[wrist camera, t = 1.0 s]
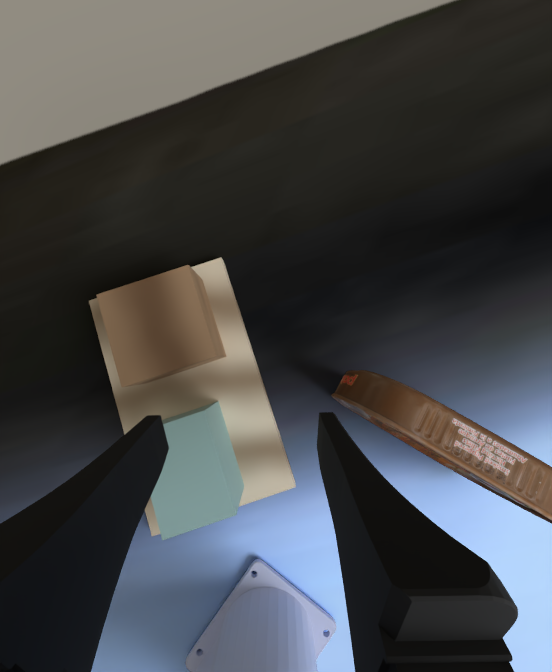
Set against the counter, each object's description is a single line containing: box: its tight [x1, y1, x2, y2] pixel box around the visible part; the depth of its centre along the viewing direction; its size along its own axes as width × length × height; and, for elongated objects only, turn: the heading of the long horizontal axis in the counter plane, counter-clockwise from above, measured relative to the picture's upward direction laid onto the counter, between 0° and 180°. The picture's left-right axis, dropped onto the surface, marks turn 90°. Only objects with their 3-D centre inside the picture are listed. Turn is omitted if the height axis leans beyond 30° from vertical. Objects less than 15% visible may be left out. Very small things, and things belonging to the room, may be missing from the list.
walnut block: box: [97, 265, 227, 387], centre depth 20 cm, size 7×7×4 cm
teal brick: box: [151, 401, 244, 541], centre depth 19 cm, size 5×7×4 cm
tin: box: [332, 370, 552, 523], centre depth 18 cm, size 15×3×8 cm, turn 59°
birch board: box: [89, 258, 296, 536], centre depth 22 cm, size 20×12×1 cm, turn 19°
